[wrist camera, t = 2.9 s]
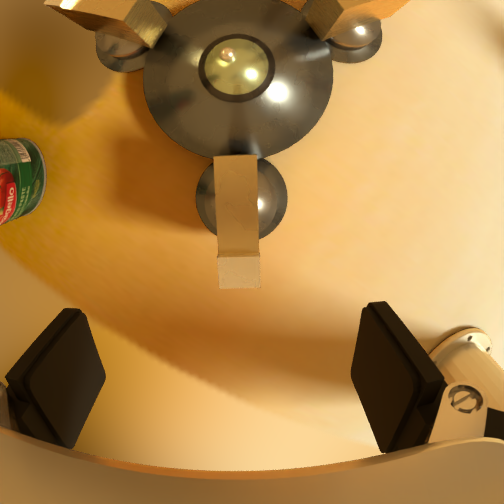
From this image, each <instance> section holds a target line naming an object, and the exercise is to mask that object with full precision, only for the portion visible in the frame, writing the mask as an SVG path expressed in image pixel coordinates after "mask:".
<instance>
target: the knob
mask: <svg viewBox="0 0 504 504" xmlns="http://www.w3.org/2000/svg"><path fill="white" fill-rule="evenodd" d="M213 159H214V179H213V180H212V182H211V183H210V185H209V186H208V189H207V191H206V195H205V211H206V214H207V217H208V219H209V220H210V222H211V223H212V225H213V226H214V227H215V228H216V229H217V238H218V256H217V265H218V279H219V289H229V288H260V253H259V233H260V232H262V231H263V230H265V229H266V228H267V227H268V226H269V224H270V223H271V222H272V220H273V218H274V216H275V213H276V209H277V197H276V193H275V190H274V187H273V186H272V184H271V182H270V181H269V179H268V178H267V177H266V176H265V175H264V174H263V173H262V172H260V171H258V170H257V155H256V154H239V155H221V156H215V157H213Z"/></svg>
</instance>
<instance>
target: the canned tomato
mask: <svg viewBox="0 0 504 504" xmlns="http://www.w3.org/2000/svg"><path fill="white" fill-rule="evenodd" d="M46 176H47V175H46V166H45V161H44V158H43V155H42V153H41V151H40V149H39V148H38V146H37V145H36V144H35V143H34V142H32V141H31V140H29V139H26V138H17V139H0V225H2V224H5V223H7V222H9V221H12V220H14V219H17V218H19V217H21V216H25V215H28V214H30V213H32V212H33V211H34V210H35V209H36V208H37V207H38V205H39V204H40V202H41V200H42V198H43V195H44V192H45V187H46Z"/></svg>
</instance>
